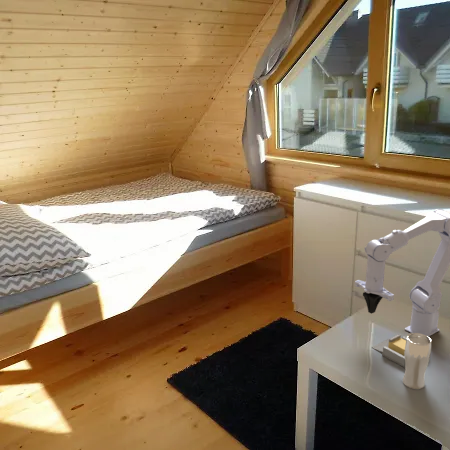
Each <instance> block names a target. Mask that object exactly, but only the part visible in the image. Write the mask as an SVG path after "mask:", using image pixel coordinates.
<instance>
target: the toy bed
mask: <svg viewBox="0 0 450 450" xmlns="http://www.w3.org/2000/svg"><path fill="white" fill-rule="evenodd" d="M401 336H402V335H401V334H400V333H399V334H396V335H394V336H392V337H390V338H388V339H389V345H388V348H390V349H392V350H393V351H395V352H397V353H399V354H401V355H403V356H405V354H404V353H405V345H406V340H404V339H402V337H401Z"/></svg>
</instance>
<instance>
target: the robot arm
mask: <svg viewBox="0 0 450 450" xmlns="http://www.w3.org/2000/svg"><path fill="white" fill-rule="evenodd" d="M430 231H433V232H437V233H438V235H439V236H440V238H441V240H440V243H439V245H438V247H437V249H436V251H435V253H434V255H433V258H432V260H431V263H430V264H429V267H428V268H427V271H426V273H425V275H424V278H423V280H419V281H417V282H416V284H415V286H414V287H413V288H411V290H410V292H409V294H408V297H409V299H410V301H411V305H412V308H411V318H410V322H409V323H410V325H408V326H406V327H405V328H404V330H405V331H407V332H409V333H410V334H411V333H420V334H424V335H426V336H428V337H429V338H430V336H432V335H434V334H436V333H437V332H440V328H438V325H439V318H440V317H439V316H440V312H439V309H440V306H441V300H442V297H443V293H442V291H441V288H440V286H441V284H442V282H443V280H444V278H445V275H446V273H447V271H448V269H449V267H450V212H448V211H447V210H444V209H443V208H436V209H434V210H433V211H430V212H428V213H427V215H426V216H425V217H424V218H422V219H420V220H419V221H416V222H415V223H414V224H412V225H410V226H409V227H408V228H406V229H404V230H402V229H397V230H396V229H393V230H391V233H388V234H387V235H385V236H383V237H379V238H378V239H372V240H370V241H368V243H367V244H366V245H365V247H364V252H365V254H366V258H367V260H366V274H365V281H364V280H360V279H357V280H355V281H354V287H355V288H360V289H363V291H364V292H362V297H363V298H364V300H365V303H366V307H367V311H368V313H369V314H374V313H376V310H377V308H378V305H379V304H380V302H381V301H382V299H383V298H384V299H386V300H387V301H388V302H392V301H394V299H395V294H393V293H392V292H390V291H389V290H388V289H386V288H385V287H384V281H385V269H386V261H387V260H388V259H389V257H390V256H391V255H392V254H393V253H394V252H396V251H397V250H399V249H402V248H403V247H405V246H407V245H408V243H409V241H410V240H412V239H414V238H416V237H418V236H421V235H423V234H426V233H427V232H430Z"/></svg>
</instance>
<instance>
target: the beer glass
mask: <svg viewBox="0 0 450 450" xmlns="http://www.w3.org/2000/svg"><path fill="white" fill-rule="evenodd" d="M406 338H407V340H406V345H405V353H404V354H405V368H404V370H405V372H404V375H403V378H402V383H403V384H404V385H405V386H406V387H407V388H409V389H412V390H422V389H424V387H425V385H426V382H425V381H426V380H425V374H426V371H427V368H428V366H429V363H430V360H431V359H430V358H431V353H432V339H431V338H430V336H429V337H428V336H426V335H424V334H420V333H411V332H410V333H409V334H407V336H406Z"/></svg>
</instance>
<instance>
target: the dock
mask: <svg viewBox="0 0 450 450" xmlns="http://www.w3.org/2000/svg"><path fill="white" fill-rule="evenodd" d="M401 338H402V339H404V340H407V336H405V335H403V336H402V337H401ZM389 339H390V338H387V339H386V340H383V341H381V342H379V343H378V344H376V345H373V346H372V347H371V349H374V350H375V351H377V352H378V353H381V354H382V356H383V357H384V358H386V359H388V360H389V361H392V362H394V363H395V364H398V365H399V366H401V367H402V368H404V369H405V356H403V355H401V354H399V353H397V352H395V351H393V350H392V349H390V348H388V345H389Z"/></svg>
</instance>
